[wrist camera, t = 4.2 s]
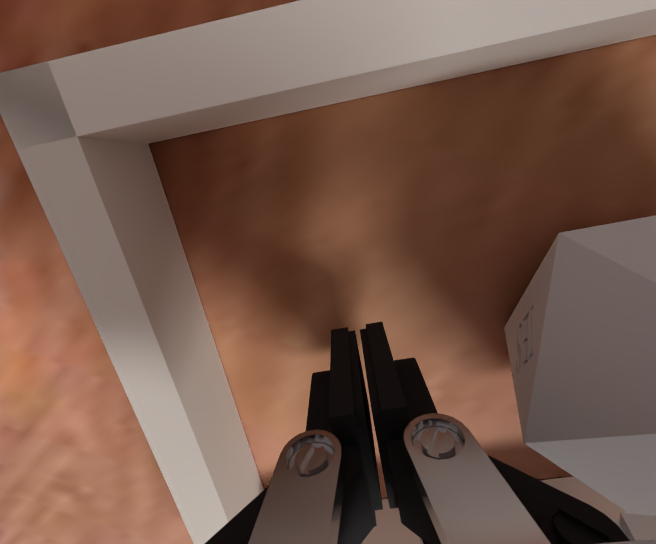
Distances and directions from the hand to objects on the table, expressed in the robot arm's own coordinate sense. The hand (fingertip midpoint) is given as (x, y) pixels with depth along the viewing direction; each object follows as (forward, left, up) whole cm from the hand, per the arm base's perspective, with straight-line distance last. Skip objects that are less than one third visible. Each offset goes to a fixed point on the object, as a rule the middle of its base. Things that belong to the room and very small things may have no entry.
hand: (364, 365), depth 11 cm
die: (-8, 0, -2) cm, 8 cm away
